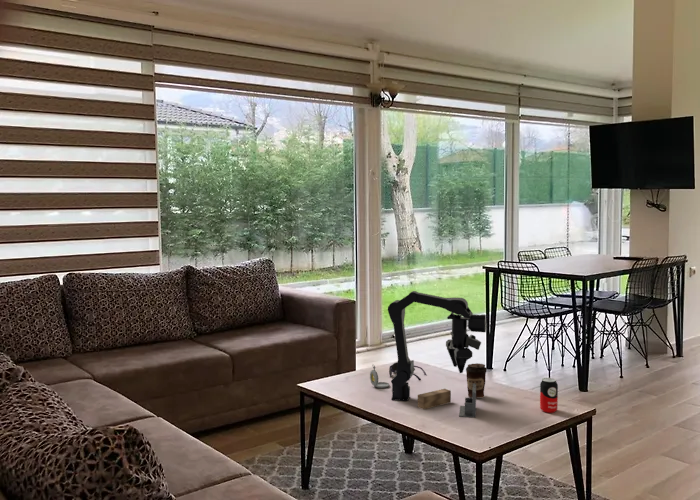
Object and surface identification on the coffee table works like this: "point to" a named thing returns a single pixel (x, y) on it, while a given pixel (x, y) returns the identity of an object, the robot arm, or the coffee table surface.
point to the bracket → (469, 405)
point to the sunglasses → (394, 369)
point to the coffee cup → (476, 379)
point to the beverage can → (548, 395)
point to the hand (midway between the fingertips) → (458, 369)
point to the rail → (434, 398)
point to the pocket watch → (375, 380)
